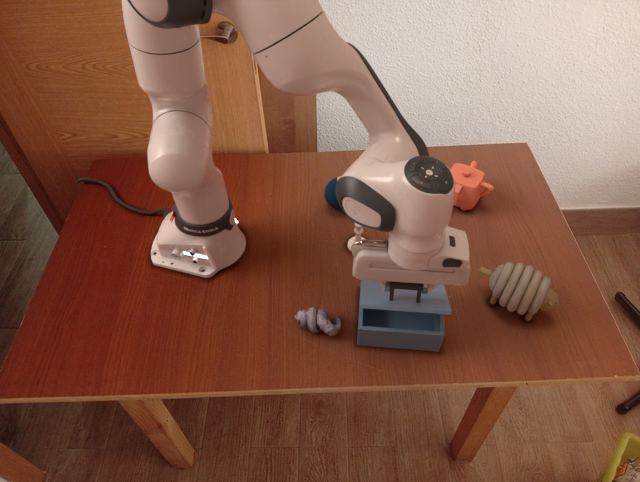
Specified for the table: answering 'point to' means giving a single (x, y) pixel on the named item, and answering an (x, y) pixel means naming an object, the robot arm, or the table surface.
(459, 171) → the teapot
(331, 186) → the christmas ornament
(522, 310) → the toy sheep
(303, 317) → the seashell
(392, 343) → the chest
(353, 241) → the chess piece
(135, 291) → the table surface
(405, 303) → the lid
